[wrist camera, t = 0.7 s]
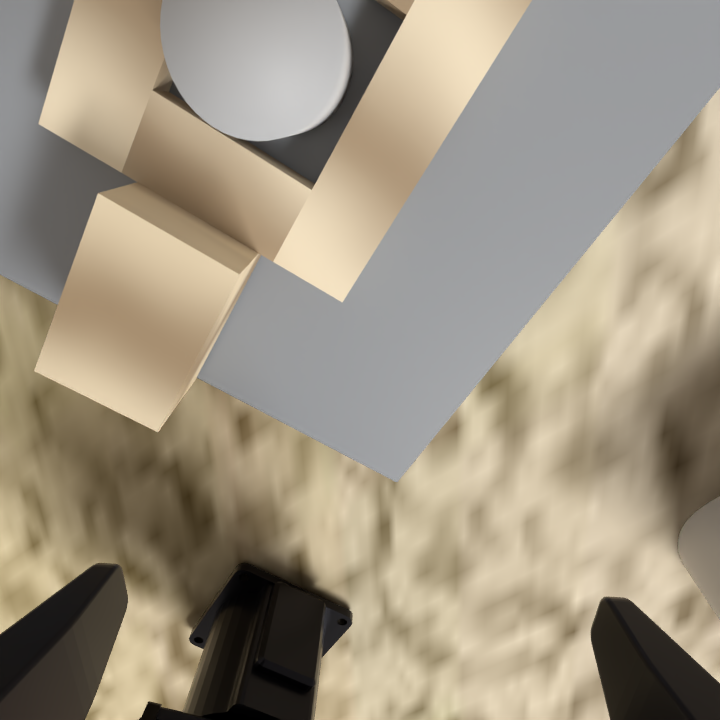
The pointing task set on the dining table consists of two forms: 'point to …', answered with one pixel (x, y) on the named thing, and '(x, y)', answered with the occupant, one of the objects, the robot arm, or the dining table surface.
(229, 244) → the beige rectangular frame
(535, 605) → the dining table surface
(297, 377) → the board
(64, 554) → the dining table surface
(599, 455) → the dining table surface
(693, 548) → the lumpy-topped squat cylinder
